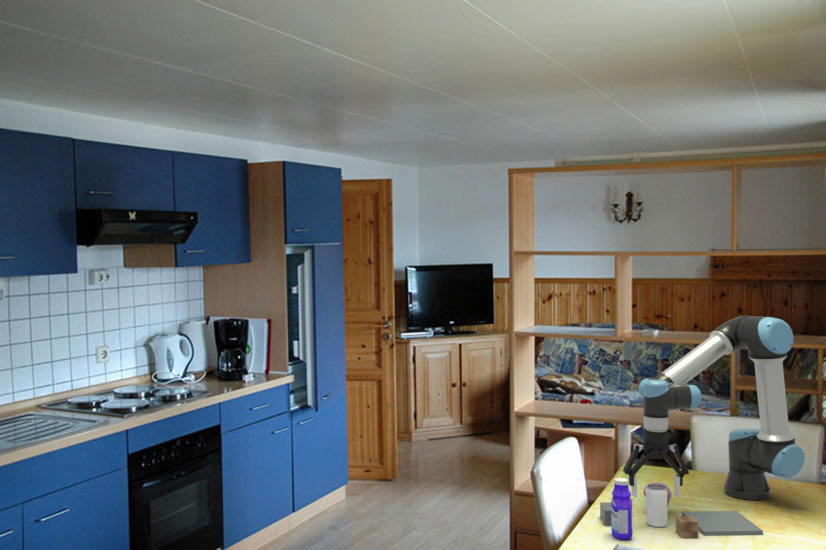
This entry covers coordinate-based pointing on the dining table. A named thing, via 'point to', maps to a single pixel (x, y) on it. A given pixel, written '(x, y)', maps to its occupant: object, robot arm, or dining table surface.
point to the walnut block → (686, 527)
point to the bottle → (621, 510)
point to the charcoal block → (605, 513)
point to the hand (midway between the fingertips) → (655, 496)
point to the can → (656, 505)
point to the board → (723, 523)
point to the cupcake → (666, 490)
